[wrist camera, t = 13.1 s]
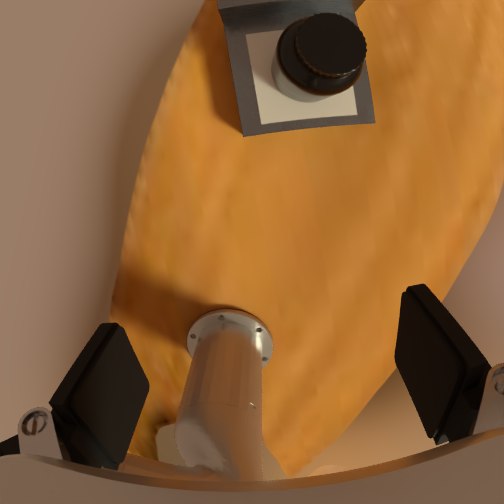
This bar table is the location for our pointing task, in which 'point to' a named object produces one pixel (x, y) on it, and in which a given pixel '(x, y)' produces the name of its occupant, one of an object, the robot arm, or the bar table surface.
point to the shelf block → (260, 60)
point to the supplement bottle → (318, 57)
